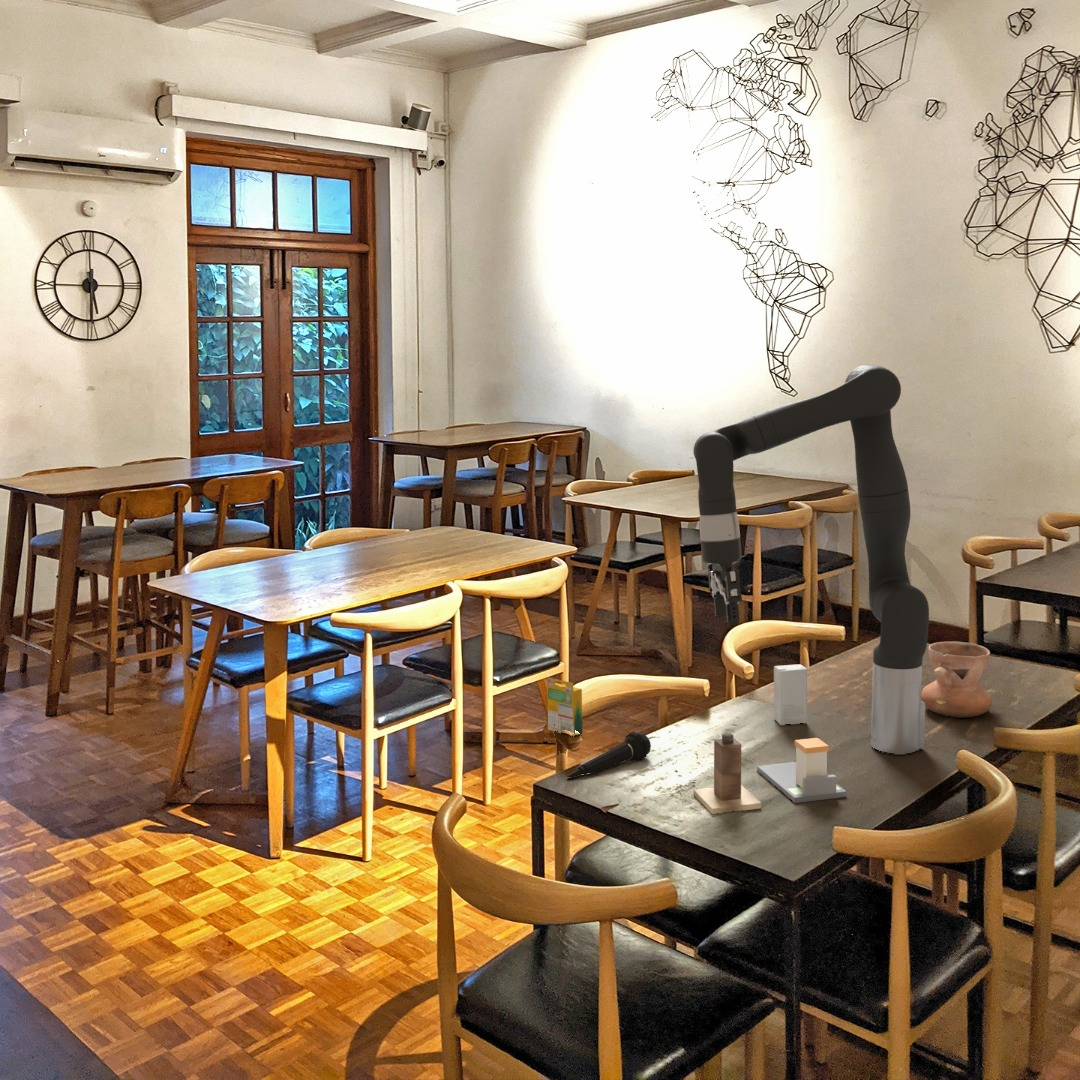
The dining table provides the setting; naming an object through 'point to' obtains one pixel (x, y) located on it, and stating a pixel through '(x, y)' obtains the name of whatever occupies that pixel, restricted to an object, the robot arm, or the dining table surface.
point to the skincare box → (790, 694)
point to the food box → (564, 706)
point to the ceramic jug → (957, 680)
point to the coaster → (718, 806)
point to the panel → (812, 786)
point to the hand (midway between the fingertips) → (727, 619)
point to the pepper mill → (727, 768)
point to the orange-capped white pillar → (810, 759)
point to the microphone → (618, 754)
